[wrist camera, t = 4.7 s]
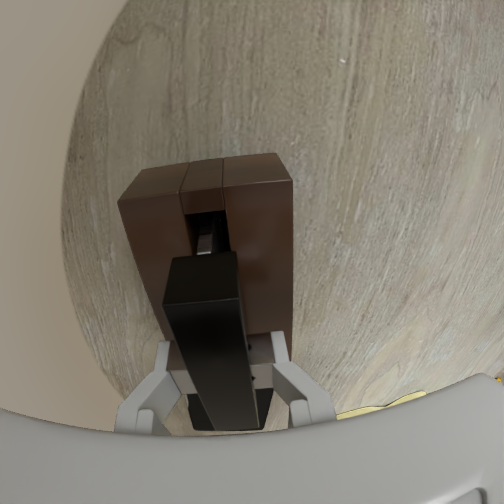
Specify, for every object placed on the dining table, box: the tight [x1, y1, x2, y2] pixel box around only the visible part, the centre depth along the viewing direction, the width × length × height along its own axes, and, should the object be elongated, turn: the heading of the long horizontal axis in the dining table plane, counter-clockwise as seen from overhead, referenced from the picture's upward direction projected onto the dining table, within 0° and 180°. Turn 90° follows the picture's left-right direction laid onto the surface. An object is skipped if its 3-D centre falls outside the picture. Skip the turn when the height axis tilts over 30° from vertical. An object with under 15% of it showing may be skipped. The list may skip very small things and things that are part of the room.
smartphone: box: [184, 388, 274, 431], centre depth 25 cm, size 8×1×15 cm
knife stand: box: [117, 153, 293, 361], centre depth 16 cm, size 12×7×4 cm, turn 4°
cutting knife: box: [162, 211, 259, 431], centre depth 14 cm, size 9×2×8 cm, turn 4°
